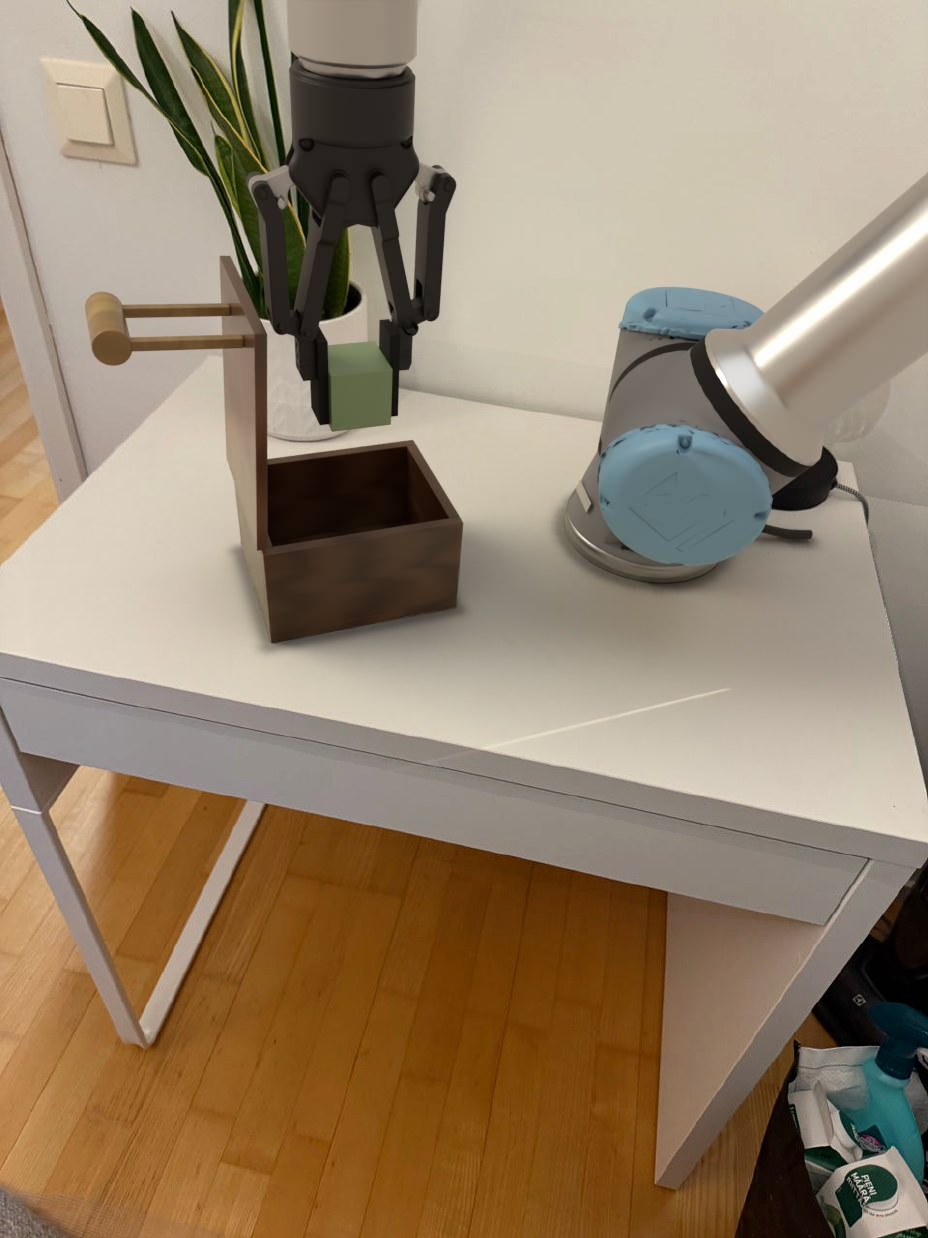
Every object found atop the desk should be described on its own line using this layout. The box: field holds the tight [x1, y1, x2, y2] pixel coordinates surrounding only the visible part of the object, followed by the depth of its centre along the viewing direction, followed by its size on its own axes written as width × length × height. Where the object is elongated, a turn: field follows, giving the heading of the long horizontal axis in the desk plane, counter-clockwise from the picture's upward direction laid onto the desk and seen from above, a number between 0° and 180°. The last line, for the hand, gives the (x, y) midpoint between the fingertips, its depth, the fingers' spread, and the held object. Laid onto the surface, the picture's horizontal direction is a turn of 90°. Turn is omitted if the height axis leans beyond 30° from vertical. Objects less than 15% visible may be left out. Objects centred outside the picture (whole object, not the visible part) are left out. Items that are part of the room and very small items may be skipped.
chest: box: [233, 439, 464, 644], centre depth 78 cm, size 16×13×9 cm
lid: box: [84, 255, 268, 551], centre depth 66 cm, size 17×13×10 cm
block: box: [327, 340, 393, 432], centre depth 70 cm, size 5×5×5 cm
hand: (354, 411), depth 71 cm, fingers closed on block, 5 cm apart
